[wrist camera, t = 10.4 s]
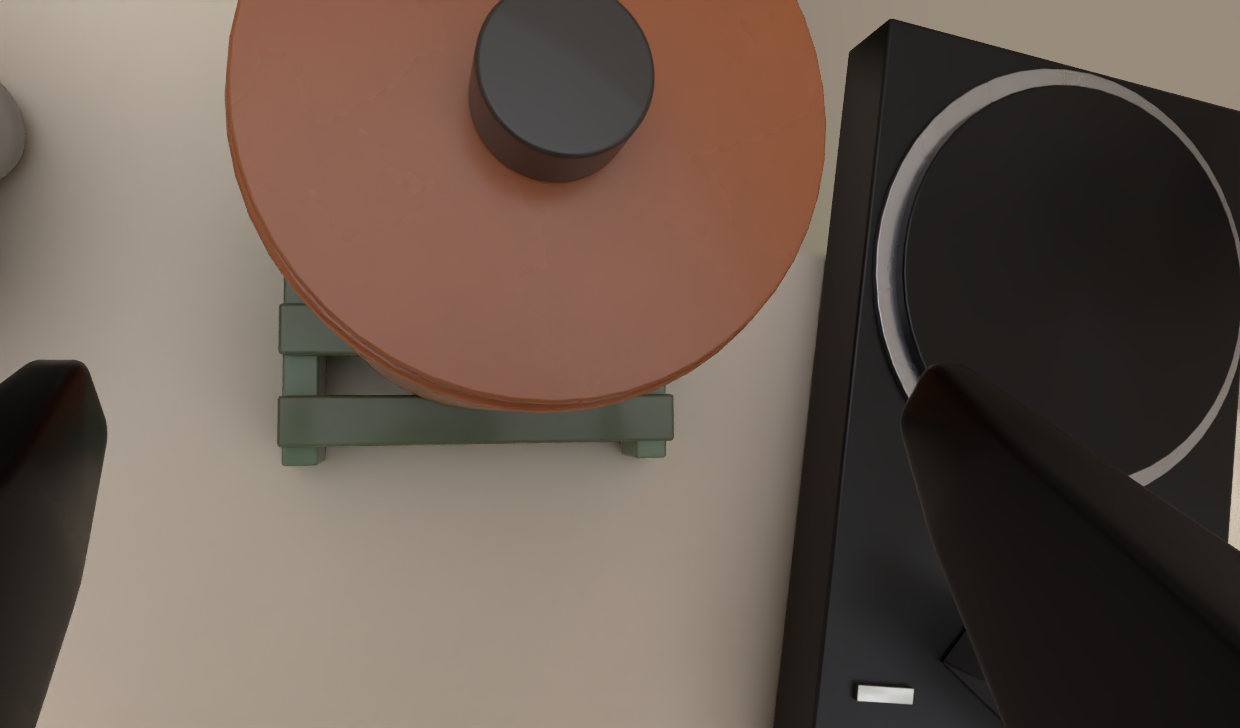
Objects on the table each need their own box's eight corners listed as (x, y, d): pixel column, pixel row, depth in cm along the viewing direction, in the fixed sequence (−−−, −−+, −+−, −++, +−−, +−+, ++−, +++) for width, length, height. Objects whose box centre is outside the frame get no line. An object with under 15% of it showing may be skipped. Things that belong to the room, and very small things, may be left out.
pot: (647, 408, 18) (886, 411, 9) (309, 410, 16) (180, 418, 7) (645, 94, 18) (873, -212, 9) (313, 66, 17) (195, -338, 8)
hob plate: (1224, 523, 22) (1243, 526, 21) (848, 476, 19) (859, 478, 19) (1253, 120, 22) (1272, 114, 22) (896, 26, 20) (908, 17, 19)
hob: (1136, 861, 23) (1209, 908, 21) (757, 856, 20) (797, 909, 18) (1192, 138, 24) (1266, 113, 22) (848, 51, 22) (894, 13, 20)
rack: (649, 453, 20) (689, 462, 17) (290, 461, 18) (267, 472, 15) (646, 81, 20) (685, 27, 18) (295, 50, 19) (274, -16, 16)
